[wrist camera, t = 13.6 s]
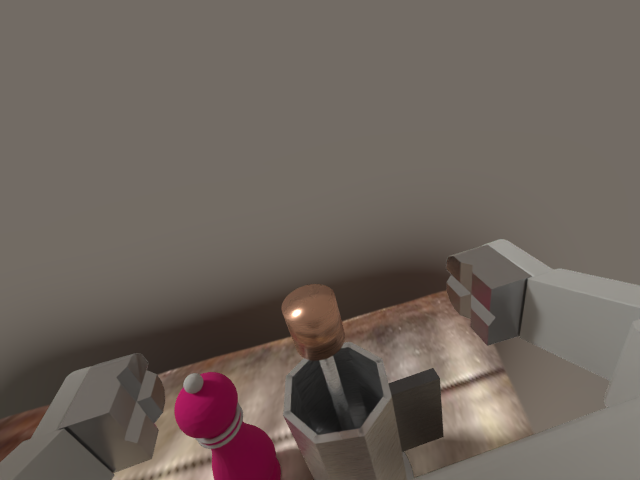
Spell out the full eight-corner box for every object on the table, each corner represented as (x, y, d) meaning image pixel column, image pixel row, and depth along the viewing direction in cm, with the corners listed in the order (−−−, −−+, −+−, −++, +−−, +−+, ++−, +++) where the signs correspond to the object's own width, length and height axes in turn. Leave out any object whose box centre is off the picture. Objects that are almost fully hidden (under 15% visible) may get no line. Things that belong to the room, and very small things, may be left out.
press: (300, 492, 38) (250, 400, 29) (368, 402, 45) (344, 307, 37) (383, 581, 30) (348, 493, 21) (447, 455, 38) (442, 351, 29)
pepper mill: (251, 531, 36) (170, 432, 26) (217, 486, 40) (138, 387, 31) (296, 472, 40) (241, 367, 30) (261, 437, 45) (203, 336, 35)
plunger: (326, 480, 37) (252, 312, 24) (358, 436, 40) (308, 268, 27) (369, 522, 33) (308, 346, 20) (400, 469, 36) (365, 290, 23)
